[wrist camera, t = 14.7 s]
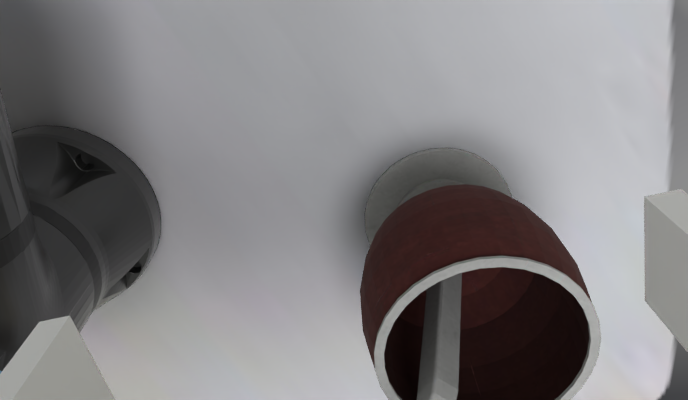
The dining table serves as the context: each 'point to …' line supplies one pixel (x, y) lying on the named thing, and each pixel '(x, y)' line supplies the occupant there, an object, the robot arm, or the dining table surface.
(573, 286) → the mate gourd
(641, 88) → the dining table surface
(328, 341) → the dining table surface
